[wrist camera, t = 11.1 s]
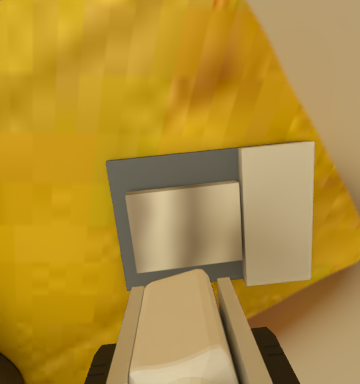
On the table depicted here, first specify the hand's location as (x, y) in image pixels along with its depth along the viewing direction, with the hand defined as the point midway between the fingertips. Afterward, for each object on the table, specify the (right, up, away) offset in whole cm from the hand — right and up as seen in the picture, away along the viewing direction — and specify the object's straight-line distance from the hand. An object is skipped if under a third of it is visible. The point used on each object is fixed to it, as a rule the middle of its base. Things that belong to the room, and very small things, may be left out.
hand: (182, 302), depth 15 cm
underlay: (+3, +4, +14) cm, 15 cm away
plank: (0, +3, +13) cm, 13 cm away
